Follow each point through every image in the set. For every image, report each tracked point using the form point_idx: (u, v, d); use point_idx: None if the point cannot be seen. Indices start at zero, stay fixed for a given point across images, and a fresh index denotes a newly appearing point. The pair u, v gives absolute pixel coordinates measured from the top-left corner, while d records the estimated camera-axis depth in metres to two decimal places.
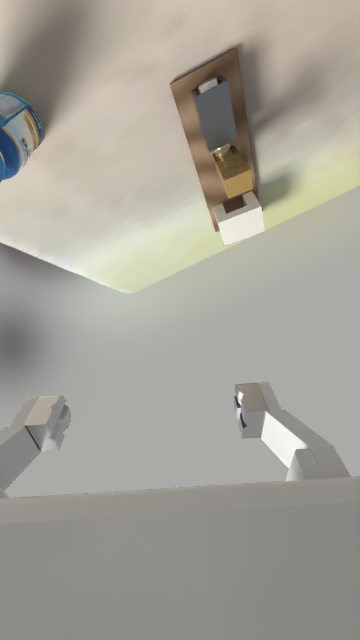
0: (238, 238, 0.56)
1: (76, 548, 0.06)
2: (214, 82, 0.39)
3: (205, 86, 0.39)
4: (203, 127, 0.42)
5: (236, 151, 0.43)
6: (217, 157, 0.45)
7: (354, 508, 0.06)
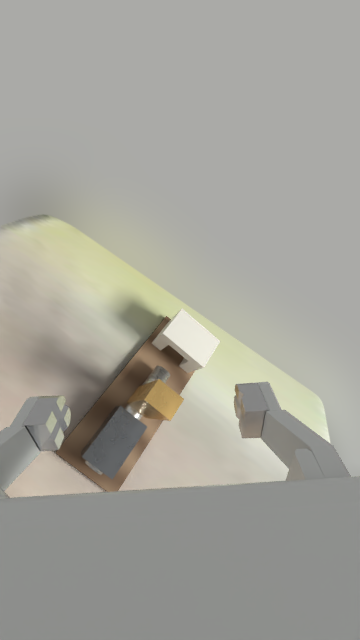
0: (205, 331, 0.45)
1: (75, 547, 0.06)
2: (90, 464, 0.35)
3: (97, 471, 0.35)
4: (130, 450, 0.36)
5: (131, 403, 0.37)
6: (146, 416, 0.38)
7: (354, 508, 0.06)
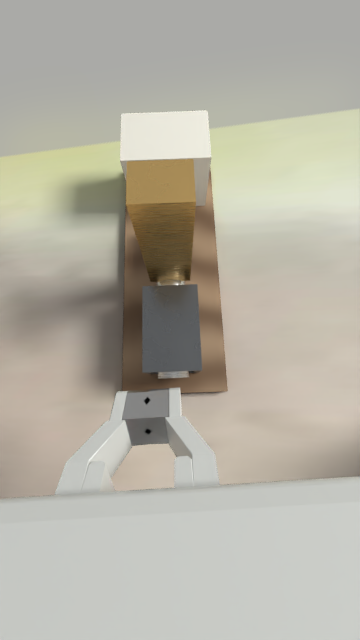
0: (176, 115, 0.26)
1: (75, 547, 0.06)
2: (163, 375, 0.23)
3: (178, 375, 0.23)
4: (197, 324, 0.23)
5: (148, 267, 0.22)
6: (183, 270, 0.23)
7: (354, 508, 0.06)
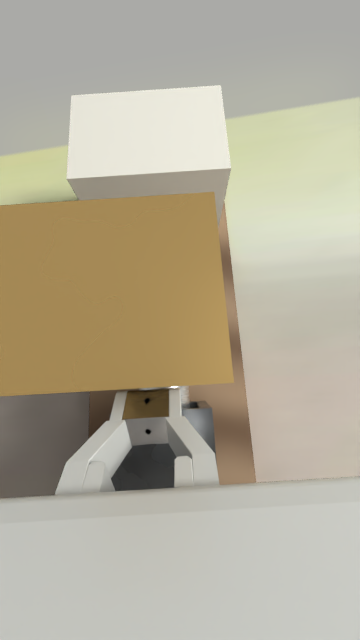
0: (166, 95, 0.15)
1: (75, 547, 0.06)
2: None
3: None
4: None
5: None
6: None
7: (354, 508, 0.06)
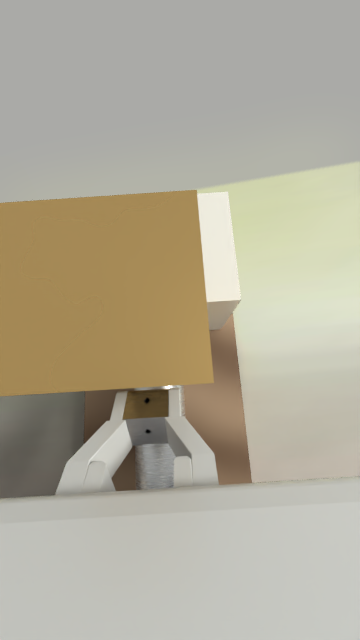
0: None
1: (75, 548, 0.06)
2: None
3: None
4: None
5: None
6: None
7: (354, 508, 0.06)
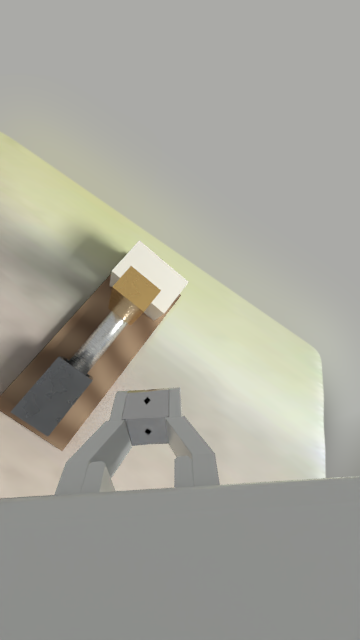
0: (168, 269, 0.36)
1: (75, 548, 0.06)
2: None
3: None
4: (70, 405, 0.31)
5: (110, 304, 0.33)
6: (128, 320, 0.34)
7: (354, 508, 0.06)
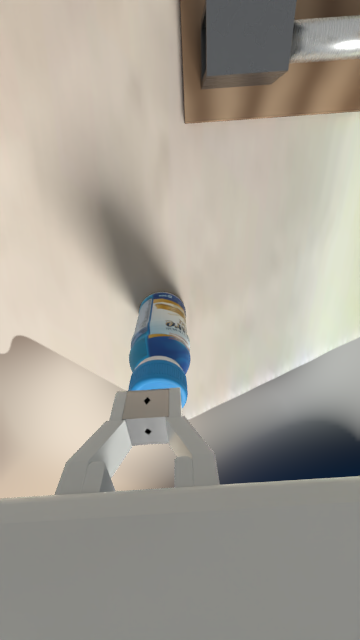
0: None
1: (75, 547, 0.06)
2: None
3: None
4: (248, 70, 0.25)
5: None
6: None
7: (354, 508, 0.06)
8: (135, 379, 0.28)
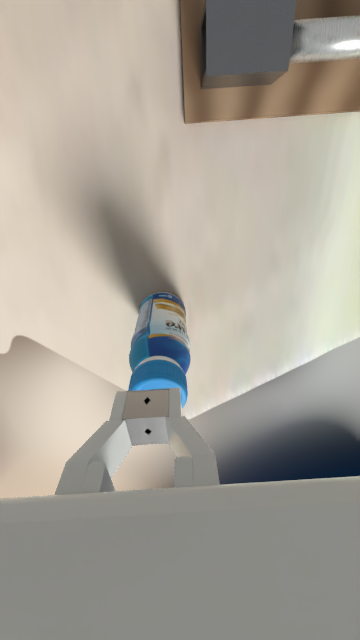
0: None
1: (75, 547, 0.06)
2: None
3: None
4: (248, 70, 0.25)
5: None
6: None
7: (355, 508, 0.06)
8: (135, 379, 0.28)
